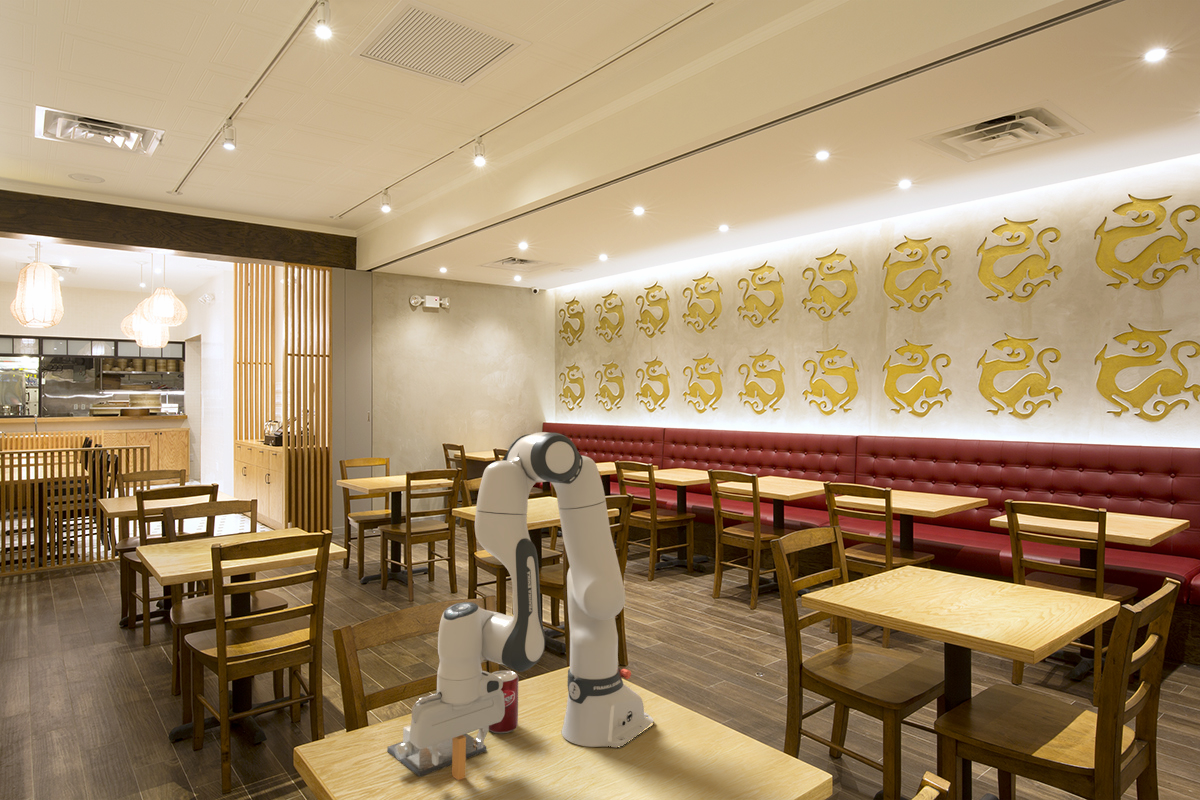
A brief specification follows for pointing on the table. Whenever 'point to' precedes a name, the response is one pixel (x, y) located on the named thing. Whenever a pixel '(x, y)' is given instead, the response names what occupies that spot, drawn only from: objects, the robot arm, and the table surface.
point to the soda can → (508, 703)
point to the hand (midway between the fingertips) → (458, 755)
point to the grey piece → (427, 753)
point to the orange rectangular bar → (459, 757)
